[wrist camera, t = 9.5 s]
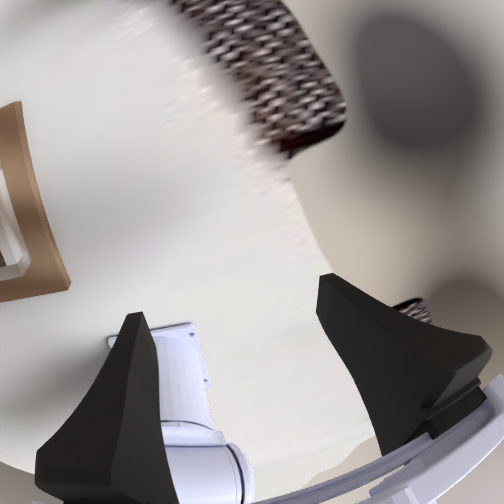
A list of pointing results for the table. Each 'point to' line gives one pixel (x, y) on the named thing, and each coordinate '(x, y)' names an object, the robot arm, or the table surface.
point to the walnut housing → (24, 219)
